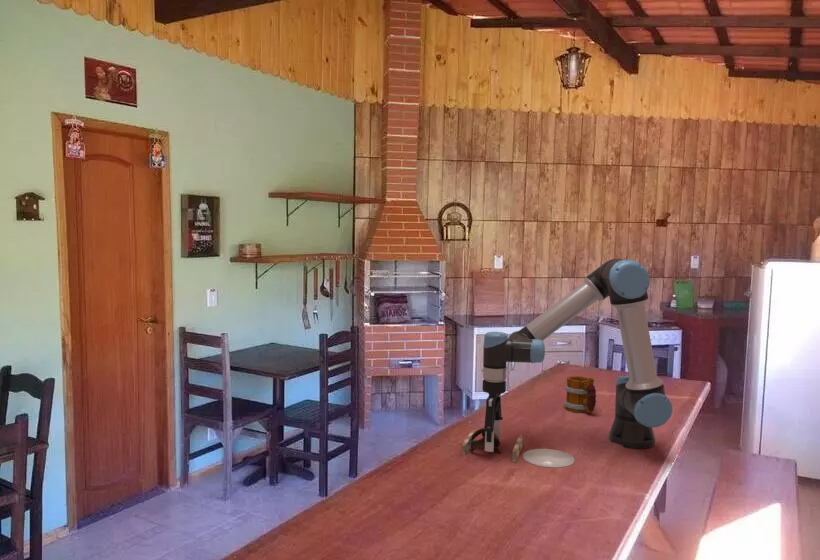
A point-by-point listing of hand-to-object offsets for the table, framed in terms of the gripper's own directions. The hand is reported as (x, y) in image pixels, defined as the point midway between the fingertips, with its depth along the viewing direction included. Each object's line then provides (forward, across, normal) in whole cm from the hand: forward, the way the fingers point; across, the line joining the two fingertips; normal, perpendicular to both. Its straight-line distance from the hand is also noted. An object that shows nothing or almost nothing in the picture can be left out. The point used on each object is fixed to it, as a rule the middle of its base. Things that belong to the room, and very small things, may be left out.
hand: (492, 445), depth 206 cm
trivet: (+2, +1, +18) cm, 18 cm away
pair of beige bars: (+2, 0, 0) cm, 2 cm away
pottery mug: (+3, -2, 0) cm, 3 cm away
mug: (+2, -58, +26) cm, 64 cm away
